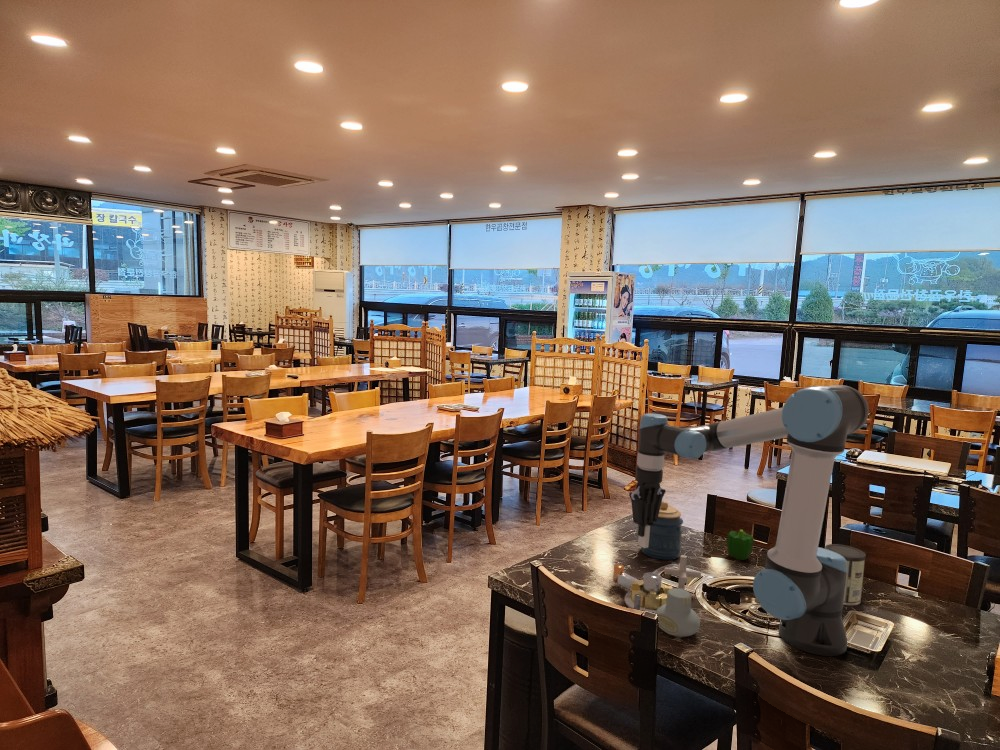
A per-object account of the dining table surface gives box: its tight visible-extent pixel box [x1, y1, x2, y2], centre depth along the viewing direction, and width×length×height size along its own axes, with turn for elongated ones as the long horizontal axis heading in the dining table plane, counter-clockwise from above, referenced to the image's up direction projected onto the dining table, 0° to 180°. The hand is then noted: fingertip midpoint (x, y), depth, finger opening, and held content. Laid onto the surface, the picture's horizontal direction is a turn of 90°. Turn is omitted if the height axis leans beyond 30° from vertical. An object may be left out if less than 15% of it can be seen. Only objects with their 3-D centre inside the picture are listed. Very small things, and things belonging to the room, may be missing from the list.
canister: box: [640, 500, 684, 561], centre depth 204 cm, size 13×13×18 cm
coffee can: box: [824, 543, 867, 606], centre depth 177 cm, size 10×10×14 cm
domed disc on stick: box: [612, 563, 673, 609], centre depth 171 cm, size 20×11×4 cm, turn 34°
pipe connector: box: [663, 554, 702, 590], centre depth 177 cm, size 10×10×10 cm
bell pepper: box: [726, 529, 754, 561], centre depth 204 cm, size 8×8×10 cm
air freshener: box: [655, 587, 701, 638], centre depth 154 cm, size 11×8×10 cm
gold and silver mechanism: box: [624, 571, 663, 613], centre depth 165 cm, size 14×21×8 cm, turn 124°
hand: (643, 546), depth 179 cm, fingers closed
